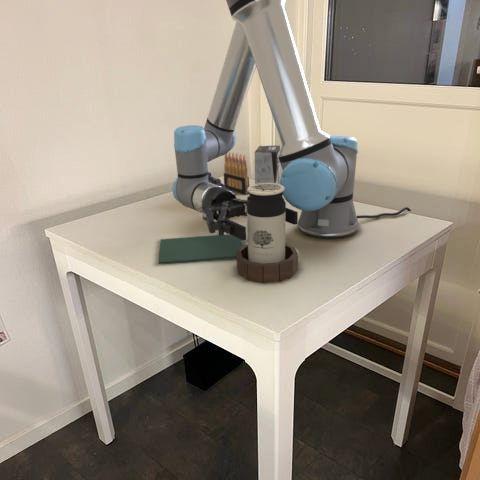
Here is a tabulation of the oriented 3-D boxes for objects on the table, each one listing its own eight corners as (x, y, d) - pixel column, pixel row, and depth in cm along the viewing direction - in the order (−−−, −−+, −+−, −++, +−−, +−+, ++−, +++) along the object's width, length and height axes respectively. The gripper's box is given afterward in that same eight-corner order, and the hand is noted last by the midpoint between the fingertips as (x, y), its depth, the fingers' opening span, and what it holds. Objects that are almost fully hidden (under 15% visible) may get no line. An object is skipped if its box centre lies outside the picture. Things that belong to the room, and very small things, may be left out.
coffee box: (276, 209, 140) (276, 152, 132) (254, 208, 141) (253, 151, 133) (280, 199, 148) (280, 144, 139) (259, 199, 149) (259, 144, 141)
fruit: (235, 174, 140) (203, 165, 149) (215, 190, 137) (183, 179, 146) (243, 200, 146) (211, 189, 155) (224, 215, 143) (192, 203, 152)
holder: (290, 255, 112) (290, 239, 110) (302, 279, 101) (302, 262, 99) (234, 259, 111) (234, 243, 109) (240, 284, 100) (239, 267, 98)
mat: (239, 235, 123) (239, 233, 123) (245, 257, 112) (245, 255, 111) (161, 241, 122) (160, 239, 122) (158, 264, 110) (158, 261, 110)
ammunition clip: (224, 188, 161) (221, 151, 155) (228, 187, 162) (226, 150, 156) (245, 194, 154) (244, 155, 148) (249, 193, 155) (248, 154, 149)
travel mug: (259, 259, 111) (257, 180, 101) (291, 265, 107) (292, 184, 98) (242, 272, 105) (238, 190, 95) (274, 280, 101) (274, 195, 92)
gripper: (257, 206, 122) (315, 228, 107) (170, 229, 110) (221, 258, 95) (257, 176, 118) (316, 195, 103) (166, 197, 106) (219, 222, 91)
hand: (271, 226), depth 99 cm, fingers open, 13 cm apart
